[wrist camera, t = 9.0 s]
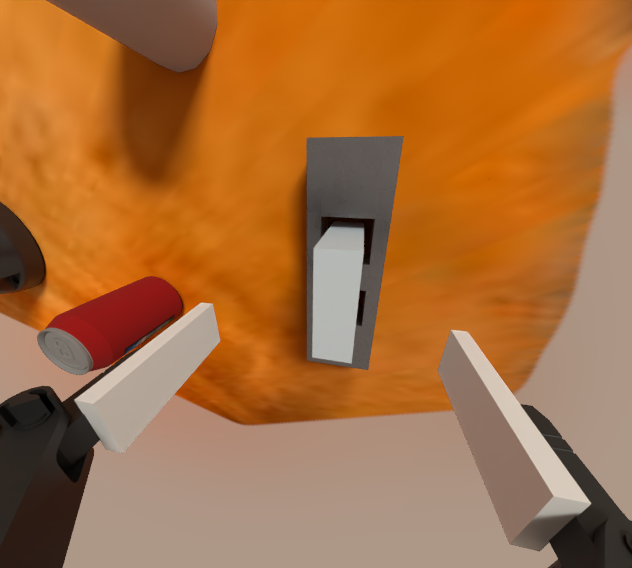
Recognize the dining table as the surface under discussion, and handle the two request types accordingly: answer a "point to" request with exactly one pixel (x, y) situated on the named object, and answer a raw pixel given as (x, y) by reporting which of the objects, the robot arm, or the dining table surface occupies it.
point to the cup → (153, 27)
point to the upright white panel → (337, 290)
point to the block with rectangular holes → (352, 202)
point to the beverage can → (109, 325)
